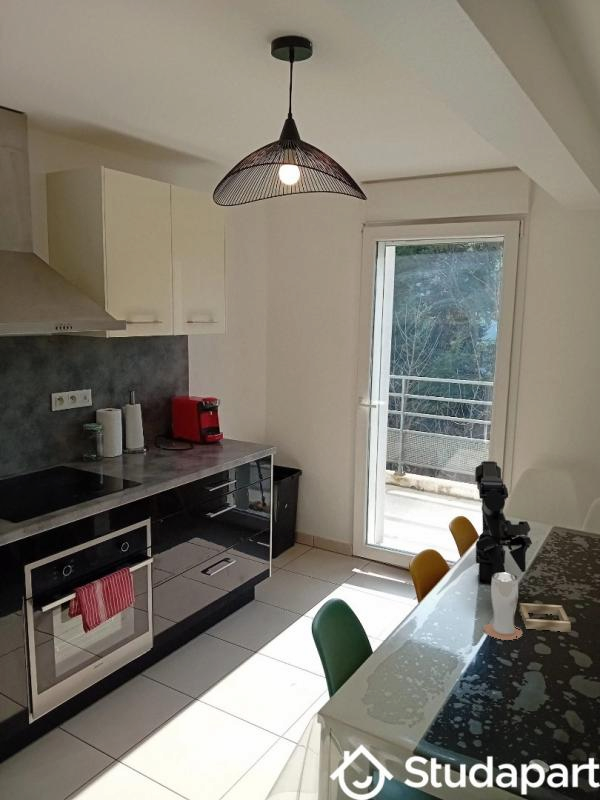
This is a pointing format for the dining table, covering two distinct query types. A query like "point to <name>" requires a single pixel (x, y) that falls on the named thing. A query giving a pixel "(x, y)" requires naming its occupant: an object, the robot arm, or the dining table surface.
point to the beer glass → (504, 602)
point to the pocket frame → (550, 625)
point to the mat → (503, 637)
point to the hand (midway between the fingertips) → (514, 572)
